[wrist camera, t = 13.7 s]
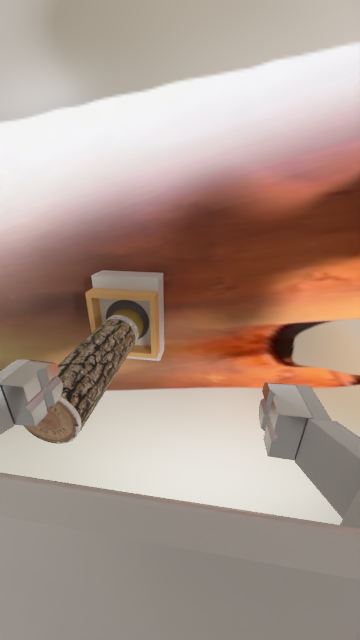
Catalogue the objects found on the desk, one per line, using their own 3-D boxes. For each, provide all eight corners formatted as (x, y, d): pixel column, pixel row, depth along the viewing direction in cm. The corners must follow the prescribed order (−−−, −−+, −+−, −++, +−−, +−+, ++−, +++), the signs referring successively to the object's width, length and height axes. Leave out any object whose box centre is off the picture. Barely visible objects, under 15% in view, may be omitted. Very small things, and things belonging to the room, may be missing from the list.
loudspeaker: (163, 272, 47) (154, 282, 40) (164, 349, 54) (156, 369, 47) (102, 270, 48) (83, 278, 41) (111, 344, 56) (96, 363, 48)
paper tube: (110, 305, 46) (9, 390, 23) (144, 308, 45) (74, 399, 22) (113, 336, 48) (25, 438, 26) (144, 339, 48) (83, 447, 25)
